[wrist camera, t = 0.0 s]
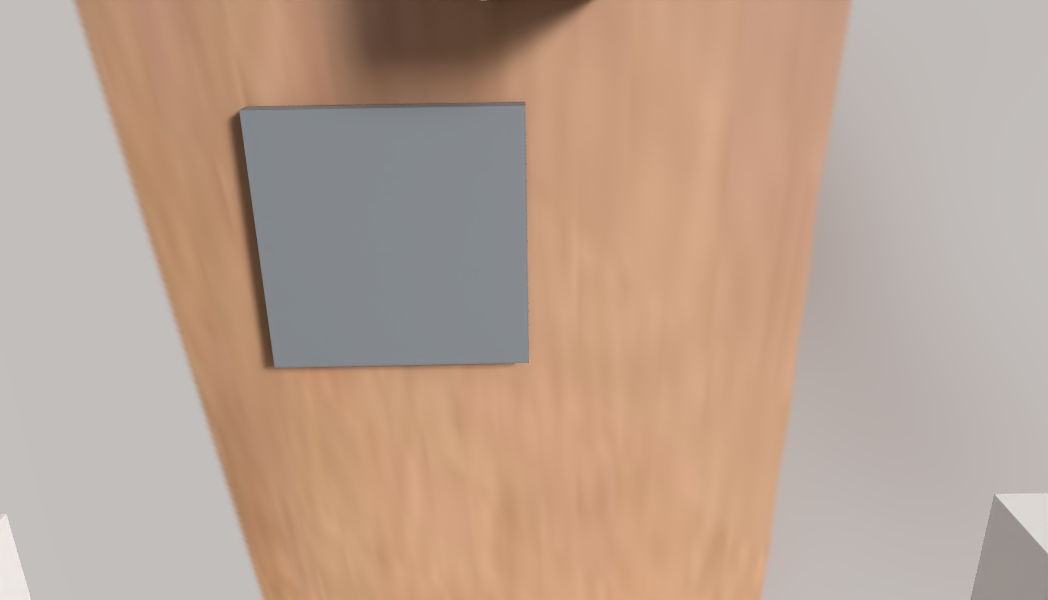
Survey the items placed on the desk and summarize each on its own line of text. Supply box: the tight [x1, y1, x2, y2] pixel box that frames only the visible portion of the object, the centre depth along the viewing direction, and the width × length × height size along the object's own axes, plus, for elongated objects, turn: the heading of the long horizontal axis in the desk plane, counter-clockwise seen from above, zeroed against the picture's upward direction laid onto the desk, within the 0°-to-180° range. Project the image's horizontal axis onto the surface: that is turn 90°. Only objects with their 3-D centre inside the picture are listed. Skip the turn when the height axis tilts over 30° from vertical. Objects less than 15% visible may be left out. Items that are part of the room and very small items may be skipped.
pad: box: [239, 102, 529, 367], centre depth 39 cm, size 12×12×1 cm
